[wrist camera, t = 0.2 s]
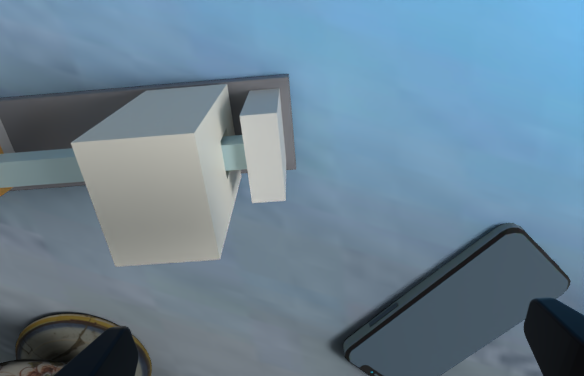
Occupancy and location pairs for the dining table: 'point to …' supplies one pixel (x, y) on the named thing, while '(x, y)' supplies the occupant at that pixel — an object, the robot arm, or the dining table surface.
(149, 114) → the white block
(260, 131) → the grey piece
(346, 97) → the dining table surface
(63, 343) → the apothecary jar
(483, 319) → the smartphone
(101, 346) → the robot arm
